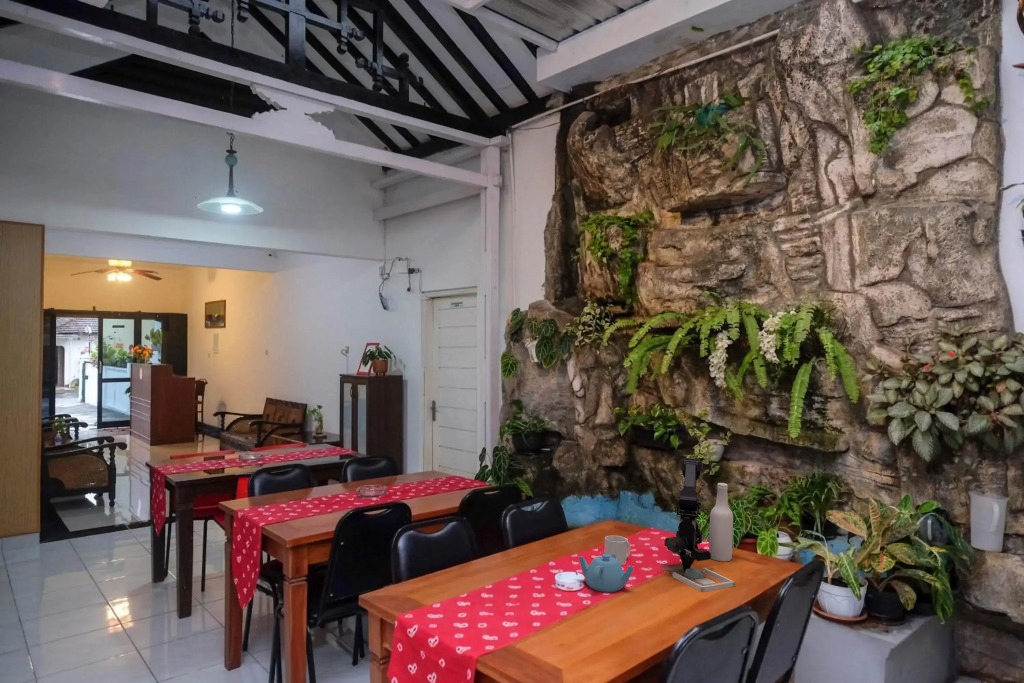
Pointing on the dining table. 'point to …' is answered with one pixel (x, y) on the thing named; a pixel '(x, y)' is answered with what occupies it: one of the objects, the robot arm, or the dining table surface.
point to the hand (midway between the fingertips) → (686, 571)
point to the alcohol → (721, 527)
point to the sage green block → (694, 574)
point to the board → (675, 569)
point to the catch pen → (726, 584)
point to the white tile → (704, 581)
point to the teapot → (605, 573)
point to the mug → (617, 547)
